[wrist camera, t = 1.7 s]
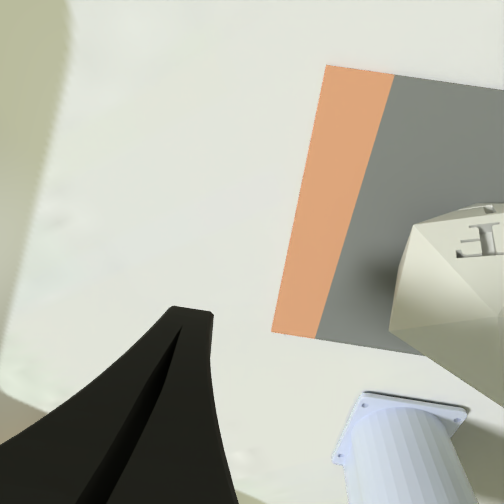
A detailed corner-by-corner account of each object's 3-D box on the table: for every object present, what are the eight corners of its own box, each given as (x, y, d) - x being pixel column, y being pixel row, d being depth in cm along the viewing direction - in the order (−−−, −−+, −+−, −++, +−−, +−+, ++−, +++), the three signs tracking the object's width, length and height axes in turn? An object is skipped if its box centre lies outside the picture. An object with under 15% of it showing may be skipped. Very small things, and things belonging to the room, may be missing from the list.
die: (573, 192, 17) (669, 156, 9) (593, 360, 17) (709, 481, 9) (400, 217, 21) (359, 209, 13) (415, 349, 21) (383, 421, 13)
